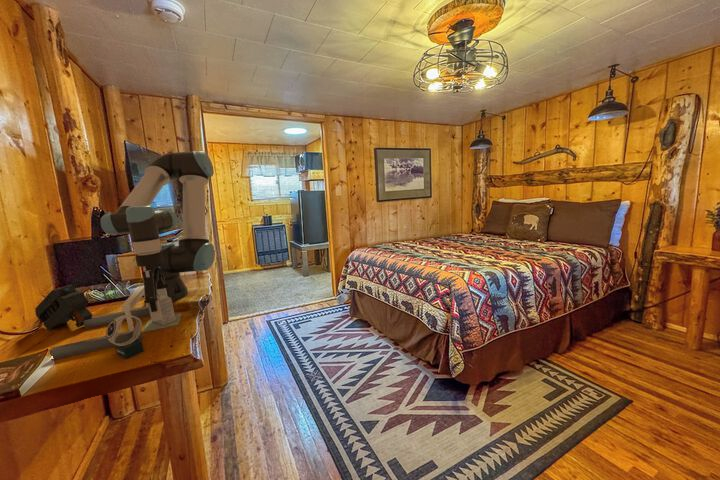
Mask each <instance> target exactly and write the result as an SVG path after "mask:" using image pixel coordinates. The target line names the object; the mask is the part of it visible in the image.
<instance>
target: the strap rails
mask: <svg viewBox="0 0 720 480" xmlns="http://www.w3.org/2000/svg"><path fill="white" fill-rule="evenodd" d="M130 313H131V315H132V316H135V317H137V318H139V319H140V318H144V317H149V316H150V312H149V308H148V307H146V306H144V307H137V308H132V310H130ZM123 315H125V312H123V311H122V310H121V311H117V312H113V313H112V312H111V313H107V314H102V315H97V316H92V317H91V318H89V319H86V320H84V321H83V323H84V325H83V327H84V329H90V328H95V327H100V326H104V325H109V323H110V322H111V321H112V320H115V319H116V318H117V317H120V316H123ZM133 319H134V320H136V319H135V318H133V317H132V320H133ZM124 321H127V319H126V318H124V319H123V322H124ZM142 331H143V330H141V333H140V335H139V337H138V338H137V340H140V341H142V340H143V338H144V335H143V333H142ZM133 333H134V331H130V332H129V330H126V331H122V332H120V333H119V335H118V336H117V337H116V339H115V341H114V342H115V343H120V342H123V341H125V340H128V339H130V338H132V337H133ZM113 347H115V344H113V343H111V342H110V341H109V340H108V339H107V338H106V335H103V336H100V337H94V338H90V339H86V340H85V339H84V340H80V341H76V342H71V343H67V344H61V345H57V346H53V347H52V348H50V349H49V350H48V352H49V353H48V354H49V356H50V355H51V356H53V358H54V359H56V360H60V359H64V358H68V357H73V356H77V355H82V354H86V353H91V352H94V351H99V350H103V349H108V348H113ZM51 356H50V357H51Z"/></svg>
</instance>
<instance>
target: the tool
mask: <svg viewBox="0 0 720 480" xmlns="http://www.w3.org/2000/svg"><path fill="white" fill-rule="evenodd" d="M88 305H89V300H88V298H87V297H86V295H85V294H84V293H83V292H82V291H77V289H76V288H75V286H74V285H72V284H68V285H67V284H66V285H65V286H62V287H58V288H55V289H51V290H50V292H49V293H48V294H47V295H46V297H44V299H42V300H41V302H39V304H38V305H37V306H36V307H35V308H34V311H35V316H36V318H37V319H38V320H39V321H40V322H41V323H42V324H43V326H44V327H45V329H46V330H49V331H50V330H52V329H55V328H57V327H60V326H62V325H65V324H67V323H69V322H70V321H72V322H75V325H74V326H76V327H77V328H81V327H82V326H83V327H84V323H83V321H84V320H86V319H89V318H91V317H93V313H92V312H91V311H90V310H89V309H88V308H87V306H88Z"/></svg>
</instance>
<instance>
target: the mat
mask: <svg viewBox="0 0 720 480" xmlns="http://www.w3.org/2000/svg"><path fill="white" fill-rule="evenodd" d="M174 314H175V313H174ZM182 315H183V314H182V313H176V314H175V318H176V320H175V321H173V322H171V323H169V324H166V325H160V324H157V323H154V322H152V321H151V319H148V321H147V323H146V325H145V326H144V328H143V330H142V334H143V333H147V332H151V331H156V330H161V329H165V328H170V327H174V326H178V325H179V323H180V320H181V318H182V317H181V316H182Z"/></svg>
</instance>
